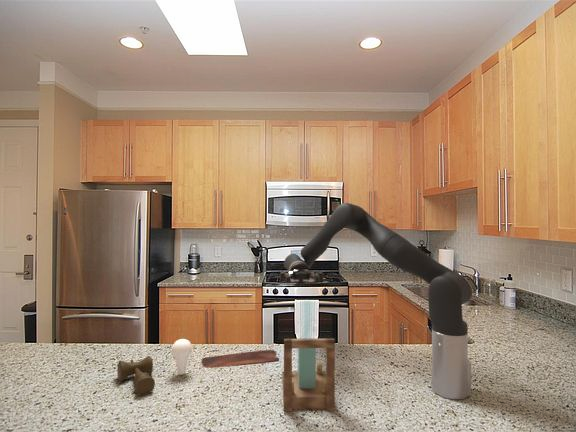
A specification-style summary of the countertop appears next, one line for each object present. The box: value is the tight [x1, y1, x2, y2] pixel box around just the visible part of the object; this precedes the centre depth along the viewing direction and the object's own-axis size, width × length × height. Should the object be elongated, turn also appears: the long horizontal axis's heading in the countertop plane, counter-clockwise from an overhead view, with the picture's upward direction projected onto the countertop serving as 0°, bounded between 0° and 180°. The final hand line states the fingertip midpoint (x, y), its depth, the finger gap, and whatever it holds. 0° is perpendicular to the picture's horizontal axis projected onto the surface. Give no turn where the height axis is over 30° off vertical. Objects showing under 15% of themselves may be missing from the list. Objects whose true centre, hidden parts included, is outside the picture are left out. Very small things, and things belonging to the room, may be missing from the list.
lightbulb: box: [171, 338, 193, 376], centre depth 107 cm, size 6×6×11 cm
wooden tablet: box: [200, 349, 280, 369], centre depth 119 cm, size 26×2×10 cm
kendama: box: [116, 355, 156, 396], centre depth 102 cm, size 6×10×20 cm
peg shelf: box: [281, 337, 336, 413], centre depth 95 cm, size 13×16×18 cm
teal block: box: [297, 348, 317, 388], centre depth 95 cm, size 4×6×11 cm
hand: (303, 279), depth 107 cm, fingers open, 8 cm apart
